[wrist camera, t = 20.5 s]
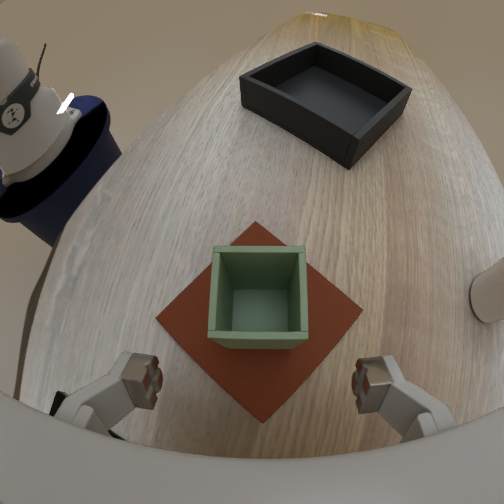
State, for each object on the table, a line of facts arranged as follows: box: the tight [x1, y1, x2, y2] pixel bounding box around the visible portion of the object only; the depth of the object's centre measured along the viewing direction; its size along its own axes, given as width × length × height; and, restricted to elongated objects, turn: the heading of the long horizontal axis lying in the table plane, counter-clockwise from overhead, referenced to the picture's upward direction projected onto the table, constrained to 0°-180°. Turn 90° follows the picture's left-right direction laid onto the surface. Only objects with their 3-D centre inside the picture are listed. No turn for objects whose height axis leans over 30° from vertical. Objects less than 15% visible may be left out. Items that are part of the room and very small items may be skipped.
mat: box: [156, 221, 363, 423], centre depth 22 cm, size 12×12×1 cm
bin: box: [239, 42, 412, 170], centre depth 30 cm, size 16×16×5 cm
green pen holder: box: [207, 246, 308, 349], centre depth 18 cm, size 5×5×8 cm
